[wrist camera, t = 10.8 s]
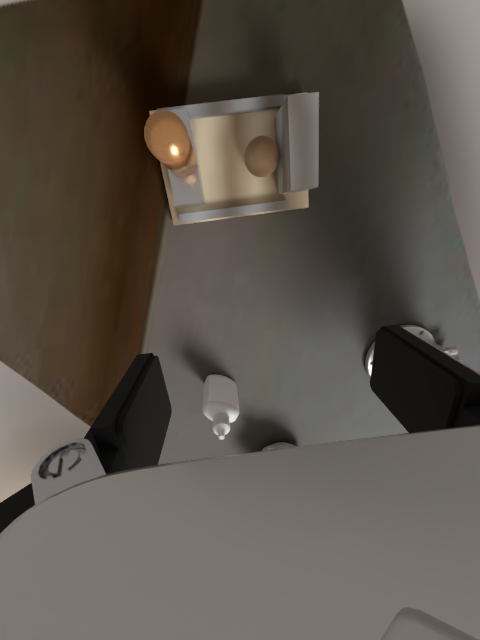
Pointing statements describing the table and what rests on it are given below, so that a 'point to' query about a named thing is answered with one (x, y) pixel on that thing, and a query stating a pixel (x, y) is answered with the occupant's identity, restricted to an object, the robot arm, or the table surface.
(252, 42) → the table surface
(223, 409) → the eye dropper bottle
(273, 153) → the walnut
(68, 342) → the table surface
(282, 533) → the robot arm
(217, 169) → the board
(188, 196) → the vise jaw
